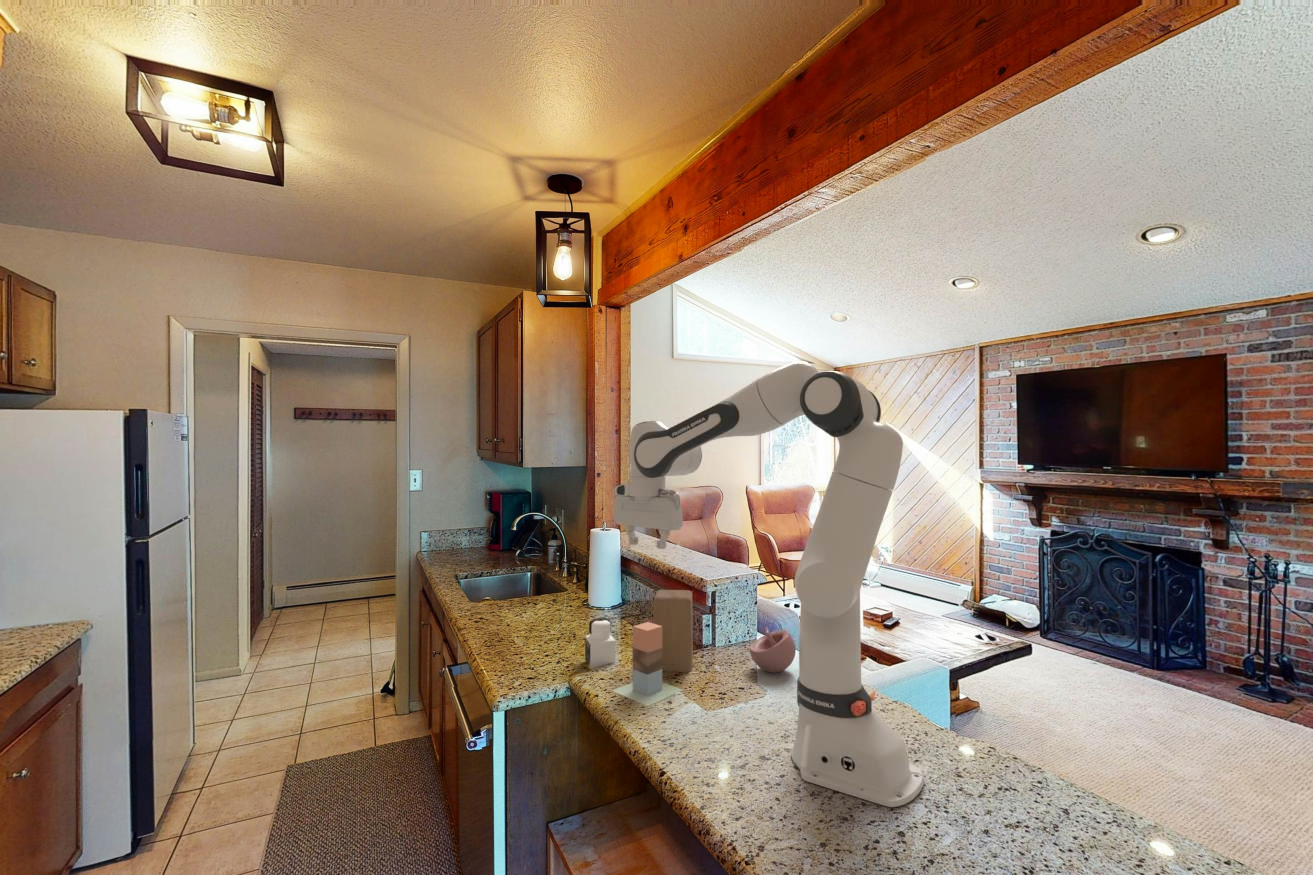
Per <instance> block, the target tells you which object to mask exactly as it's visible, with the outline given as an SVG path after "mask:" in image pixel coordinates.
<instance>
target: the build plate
mask: <svg viewBox="0 0 1313 875" xmlns="http://www.w3.org/2000/svg"><path fill="white" fill-rule="evenodd" d="M682 691H683V689H682V688H680V687H676V686H673V685H670V684H669V683H665V682H663V681H662V690H661V691H659V692H657V693H655V694H652V695H650V696H648V697H647V696H645V695H642V694H640V693H638V692H635V691H633V681H631V682H630V683H627V684H625V685H622V686H620V687H617V688H615V689H613V690H611V692H614V693H616V694H618V695H621V696H622V697H624V698H625V697H626V698H627V699H630V700H632V701H635V702H637V703H640V704H642V705H644V706H646V707H649V706H651V705H653V704H655V703H657V702H660V701H662V700H665V699H666V698H669V697H671V696H674V695H675V694H678V693H680V692H682Z"/></svg>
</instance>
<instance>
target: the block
mask: <svg viewBox="0 0 1313 875" xmlns="http://www.w3.org/2000/svg"><path fill="white" fill-rule="evenodd" d="M652 602H653V605H652V606H653V614H652V615H653V619H652V620H653V621H652V622H653V624H656V625H660V626H662V672H682V673H685V672H686V673H690V672H692V671H693V664H694V663H693V662H694V658H693V657H694V656H693V655H694V654H693V652H694V651H693V648H694V644H693V642H694V641H693V640H694V639H693V638H694V637H693V636H694V635H693V634H694V633H693V629H694V626H693V624H694V623H693V621H694V620H693V615H694V614H693V610H694V609H693V605H694V604H693V592H692V591H691V590H689V589H686V590H685V589H659V590H657V591H656V593H655V595H654V598H653V600H652Z"/></svg>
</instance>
